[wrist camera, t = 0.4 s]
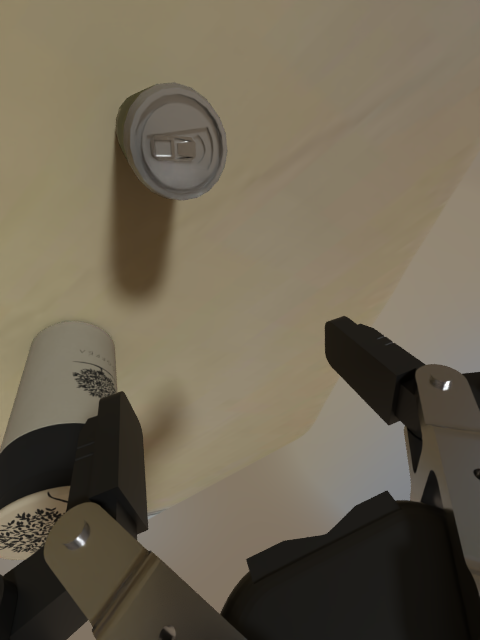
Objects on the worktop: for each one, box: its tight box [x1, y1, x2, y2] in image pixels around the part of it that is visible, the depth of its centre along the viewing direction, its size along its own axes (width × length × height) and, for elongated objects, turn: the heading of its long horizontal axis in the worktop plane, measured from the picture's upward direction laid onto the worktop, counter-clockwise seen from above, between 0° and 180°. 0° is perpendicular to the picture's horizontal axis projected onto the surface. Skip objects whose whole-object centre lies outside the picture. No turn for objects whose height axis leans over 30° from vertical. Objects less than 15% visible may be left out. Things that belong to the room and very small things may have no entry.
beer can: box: [116, 83, 227, 200], centre depth 20 cm, size 5×5×12 cm
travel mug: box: [0, 321, 117, 560], centre depth 25 cm, size 8×8×18 cm
